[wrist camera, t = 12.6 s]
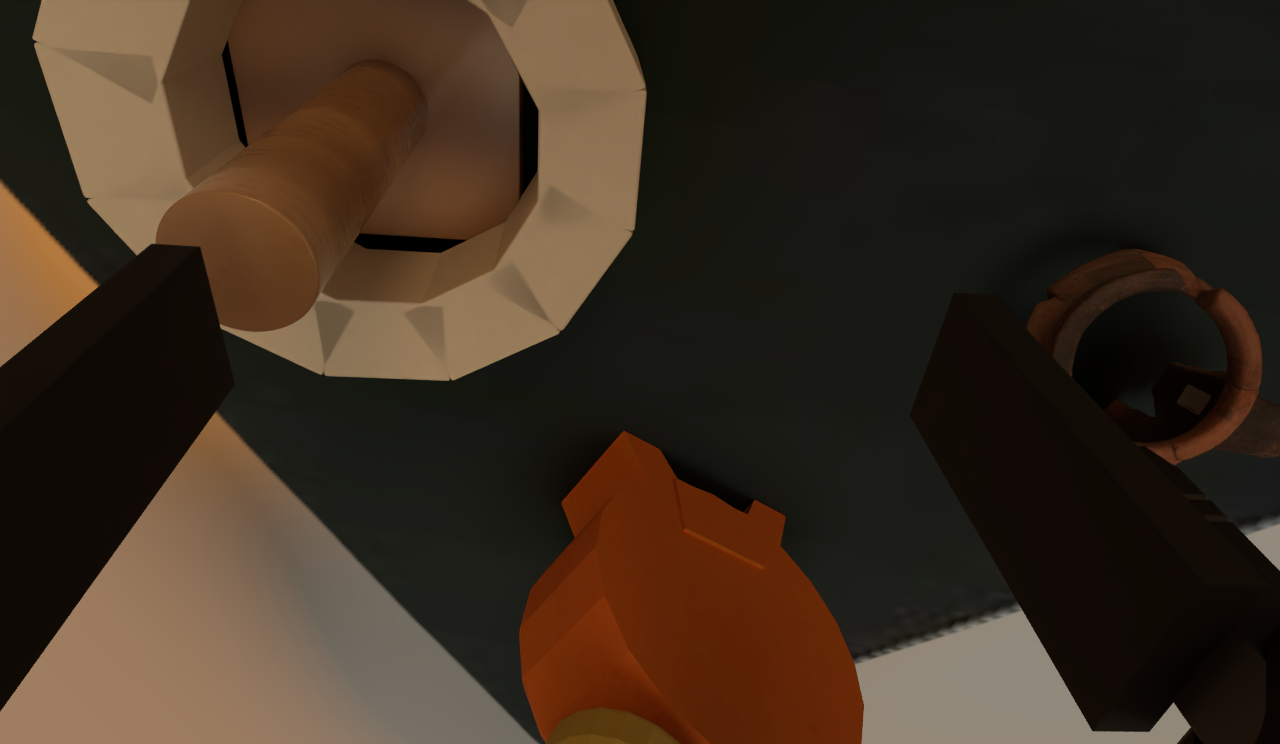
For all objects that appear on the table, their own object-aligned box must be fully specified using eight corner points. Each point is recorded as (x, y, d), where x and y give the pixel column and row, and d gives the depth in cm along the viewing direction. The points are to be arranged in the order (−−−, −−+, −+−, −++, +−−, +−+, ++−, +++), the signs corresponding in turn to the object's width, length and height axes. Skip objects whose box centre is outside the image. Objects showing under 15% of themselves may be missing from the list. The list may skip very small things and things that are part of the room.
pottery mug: (932, 428, 36) (998, 460, 28) (990, 236, 35) (1076, 210, 27) (1186, 496, 35) (1332, 549, 27) (1251, 300, 34) (1423, 293, 26)
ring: (226, -358, 18) (145, -411, 15) (732, 41, 24) (755, 67, 21) (65, 174, 25) (-16, 219, 22) (489, 387, 31) (477, 448, 27)
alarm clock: (526, 496, 36) (473, 1024, 20) (597, 411, 34) (605, 936, 17) (735, 593, 41) (835, 1084, 24) (811, 525, 38) (982, 1022, 22)
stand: (227, -68, 23) (-126, -16, 12) (524, -39, 24) (466, 36, 12) (278, 212, 28) (66, 440, 16) (522, 227, 29) (480, 453, 17)
